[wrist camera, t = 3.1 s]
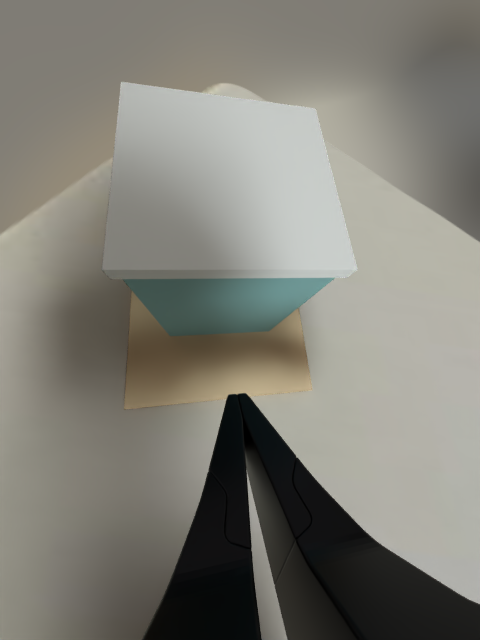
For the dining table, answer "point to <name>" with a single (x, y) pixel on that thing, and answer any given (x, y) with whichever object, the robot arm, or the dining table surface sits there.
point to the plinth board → (211, 362)
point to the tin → (221, 210)
